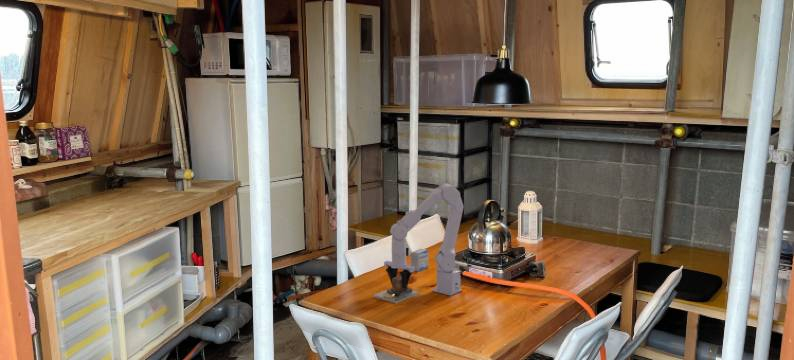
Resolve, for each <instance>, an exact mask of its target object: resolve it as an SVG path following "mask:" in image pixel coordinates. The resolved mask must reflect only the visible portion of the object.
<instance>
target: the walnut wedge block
mask: <svg viewBox="0 0 794 360" xmlns="http://www.w3.org/2000/svg"><path fill="white" fill-rule="evenodd" d="M391 288H392V291H395V292H402V291H404V290H407V288H403V287H402V278H401V275H397V277H394V278H392V284H391Z"/></svg>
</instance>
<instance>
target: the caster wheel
mask: <svg viewBox="0 0 794 360" xmlns="http://www.w3.org/2000/svg"><path fill="white" fill-rule="evenodd" d="M545 263H546V262H545V260H542V261H531V262H529V263H528V266H529V267H525V266H524V267H525V272H524V273H526V274H527V273H529V276H530V277H532V278H533V277H547V272H546V270H547V268H546V264H545Z"/></svg>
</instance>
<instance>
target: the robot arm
mask: <svg viewBox="0 0 794 360" xmlns="http://www.w3.org/2000/svg"><path fill="white" fill-rule="evenodd" d="M445 202H446V204H447V206H448V207H449V213H448V218H447V222H446V225H445V230H444V235H443V238H442V244H441V245H440V247H439V250H438V252H437V253H436V255H435V257H434V258H435V259H434V262H435V263H436V265H437V267H436V288H434V289H432V292H435V293H438V294H439V293H440V294H442V295H447V296H453V295H456V294H458V293H459V292H462V289H461V285H462V284H461V283H462V282H461V281H462V280H461V277H462V276H461V274H460V273H459V272H458V271H456V270H455V268H456V265H457V264H456V262H457V261H456V251H455V248H456V243H457V239H458V233H459V229H460V226H461V225H460V224H461V221H462V215H463V211H464V208H465V207H464V206H465V205H464V203H463V200H462V197H461V192H460V191H459V190H458V189H457V188H456V187H455V186H453V185H450V184H449V183H447V182H444V183H443V182H442V183H440V184H439V185H438V186H437V187H436V188H434V189H433V191H432V192H431V193H430V194H429V195H428V196H427V197H426V198H425V199H424V200H423V202H421V203H420V205H419V206H417V207H416V208H415V209H412V210H409V211H408V210H407V211H406V212H405V215H404V216H403V217H402V218H401V219H400V220H397V221H396V223H394V224H392V225H391V227H390V230H389V233H390V235H391V260H386V261H383V267H387V268H386V269H385V271H386V273H387V275H388V277H389V280H390V284H391V285H392V278H394V277H397V276H398V270H401V271H399V273H400V276H401V278H402V287H403V288H407V287H409V286H408V284H409V281H410V278H411V276H412V274H413V273H414V272H416V271H415V267H413V266H411V264H408V263H407V242H406V238H407V236H408V232H410V231H411V230H412V229H413V228H414V227H415V226H416V225H417V224H418V223H420V222H421V217H422V216H423V214H425V213H426V212H427V211H428V210H430V209H431V208H432V207H433V206H434V205H436V204H441V203H445Z"/></svg>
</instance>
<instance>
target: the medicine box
mask: <svg viewBox="0 0 794 360" xmlns="http://www.w3.org/2000/svg"><path fill="white" fill-rule="evenodd" d="M410 265H411V266H413V267H415V271H414V272H417V273H419V272H421V271H424V270H427V269H428V268H429V250H428V249H424V248H420V249H417V250H414V251H411V252H410Z"/></svg>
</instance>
